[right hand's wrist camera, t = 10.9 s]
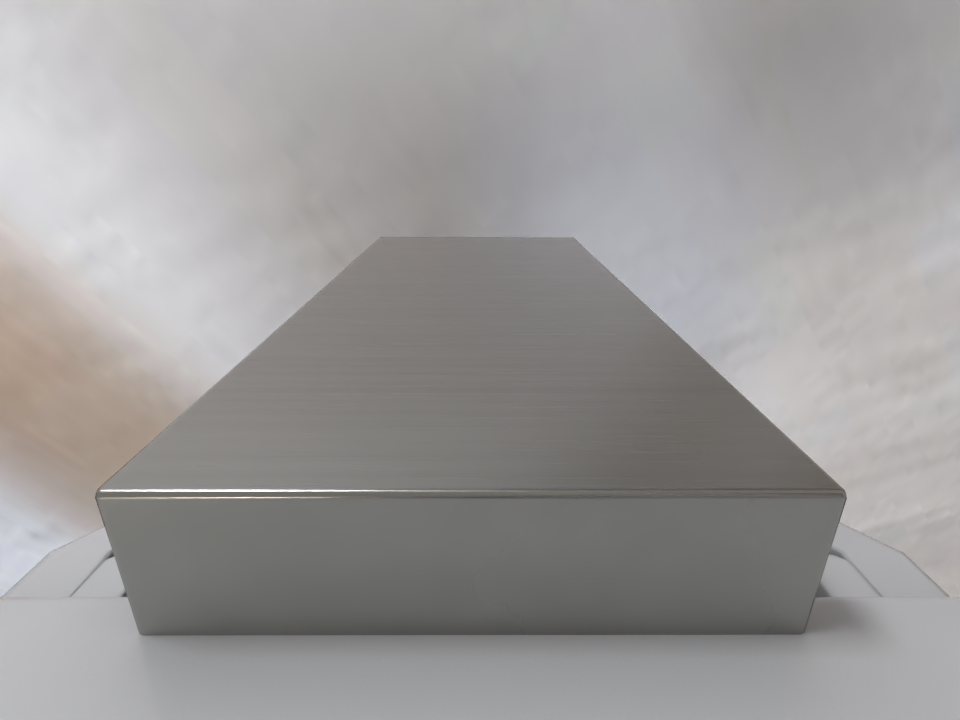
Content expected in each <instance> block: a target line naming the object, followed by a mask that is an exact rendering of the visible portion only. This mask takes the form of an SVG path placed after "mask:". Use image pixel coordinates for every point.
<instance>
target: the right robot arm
mask: <svg viewBox="0 0 960 720" xmlns="http://www.w3.org/2000/svg"><path fill="white" fill-rule="evenodd" d="M0 720H960V597H950V596H949V595H948V594H947V593H945V592H944V591H943V590H942V589H941V588H940V587H939V586H938V585H937V584H936V583H935V582H934V581H933V580H932V579H931V578H930V577H929V576H928V575H927V574H925V573H924V572H923V571H922V570H921V569H920V568H919V567H918V566H917V565H916V564H915V563H914V562H913V561H912V560H911V559H910V558H909V557H908V556H907V555H905V554H904V553H903V552H901V551H899V550H896V549H894V548H892V547H890V546H888V545H886V544H884V543H882V542H880V541H878V540H875V539H873V538H871V537H869V536H867V535H865V534H863V533H861V532H859V531H857V530H854V529H852V528H850V527H848V526H846V525H844V524H842V523H840V522H839V524H838V528H837V531H836V534H835V537H834V540H833V543H832V547H831V550H830V553H829V556H828V559H827V562H826V566H825V569H824V572H823V575H822V578H821V582H820V585H819V588H818V591H817V594H816V597H815V601H814V604H813V607H812V610H811V613H810V617H809V620H808V623H807V626H806V629H805V632H804V633H803V634H801V635H183V636H143V635H141V634H139V631H138V628H137V625H136V622H135V619H134V616H133V613H132V610H131V607H130V603H129V600H128V597H127V594H126V591H125V588H124V585H123V582H122V579H121V576H120V573H119V569H118V566H117V563H116V560H115V557H114V554H113V551H112V548H111V545H110V542H109V539H108V536H107V532H106V529H105V527H103V528H101V529H99V530H96V531H94V532H92V533H90V534H88V535H86V536H84V537H81V538H79V539H77V540H75V541H73V542H71V543H69V544H67V545H64V546H62V547H60V548H58V549H56V550H54V551H52V552H50V553H49V554H48V555H47V556H45V557H44V558H43V559H42V560H41V561H40V562H39V563H38V564H37V565H36V566H35V567H34V568H33V569H31V570H30V571H29V572H28V573H27V574H26V575H25V576H24V577H23V578H22V579H21V580H20V581H19V582H17V583H16V584H15V585H14V586H13V587H12V588H11V589H10V590H9V591H8V592H7V593H6V594H5V595H3V596H2V597H0Z"/></svg>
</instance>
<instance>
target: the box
mask: <svg viewBox="0 0 960 720" xmlns="http://www.w3.org/2000/svg"><path fill="white" fill-rule="evenodd" d="M95 499H96V502H97V505H98V508H99V511H100V514H101V517H102V520H103V523H104V526H105V529H106V532H107V536H108V539H109V542H110V545H111V548H112V551H113V554H114V557H115V560H116V563H117V566H118V569H119V573H120V576H121V579H122V582H123V585H124V588H125V591H126V594H127V597H128V600H129V603H130V607H131V610H132V613H133V616H134V619H135V622H136V625H137V628H138V631H139V634H141V635H143V636H183V635H801V634H803V633H804V632H805V629H806V626H807V623H808V620H809V617H810V613H811V610H812V607H813V604H814V601H815V597H816V594H817V591H818V588H819V585H820V582H821V578H822V575H823V572H824V569H825V566H826V562H827V559H828V556H829V553H830V550H831V547H832V543H833V540H834V537H835V534H836V531H837V528H838V524H839V521H840V518H841V515H842V512H843V508H844V505H845V502H846V499H847V498H846V493H845V490H844V489H843V488H842V487H841V486H840V485H839V484H837V483H836V482H835V481H834V480H833V479H832V478H831V477H830V476H829V475H828V474H827V473H826V472H825V471H824V470H822V469H821V468H820V467H819V466H818V465H817V464H816V463H815V462H814V461H813V460H812V459H811V458H810V457H809V456H807V455H806V454H805V453H804V452H803V451H802V450H801V449H800V448H799V447H798V446H797V445H796V444H795V443H793V442H792V441H791V440H790V439H789V438H788V437H787V436H786V435H785V434H784V433H783V432H782V431H781V430H780V429H778V428H777V427H776V426H775V425H774V424H773V423H772V422H771V421H770V420H769V419H768V418H767V417H766V416H764V415H763V414H762V413H761V412H760V411H759V410H758V409H757V408H756V407H755V406H754V405H753V404H752V403H751V402H749V401H748V400H747V399H746V398H745V397H744V396H743V395H742V394H741V393H740V392H739V391H738V390H737V389H736V388H734V387H733V386H732V385H731V384H730V383H729V382H728V381H727V380H726V379H725V378H724V377H723V376H722V375H720V374H719V373H718V372H717V371H716V370H715V369H714V368H713V367H712V366H711V365H710V364H709V363H708V362H707V361H705V360H704V359H703V358H702V357H701V356H700V355H699V354H698V353H697V352H696V351H695V350H694V349H693V348H691V347H690V346H689V345H688V344H687V343H686V342H685V341H684V340H683V339H682V338H681V337H680V336H679V335H678V334H676V333H675V332H674V331H673V330H672V329H671V328H670V327H669V326H668V325H667V324H666V323H665V322H664V321H663V320H661V319H660V318H659V317H658V316H657V315H656V314H655V313H654V312H653V311H652V310H651V309H650V308H649V307H647V306H646V305H645V304H644V303H643V302H642V301H641V300H640V299H639V298H638V297H637V296H636V295H635V294H634V293H632V292H631V291H630V290H629V289H628V288H627V287H626V286H625V285H624V284H623V283H622V282H621V281H620V280H618V279H617V278H616V277H615V276H614V275H613V274H612V273H611V272H610V271H609V270H608V269H607V268H606V267H605V266H603V265H602V264H601V263H600V262H599V261H598V260H597V259H596V258H595V257H594V256H593V255H592V254H591V253H590V252H588V251H587V250H586V249H585V248H584V247H583V246H582V245H581V244H580V243H579V242H578V241H577V240H576V239H574V238H522V237H381V238H379V239H378V240H377V241H376V242H375V243H374V244H372V245H371V246H370V247H369V248H368V249H367V250H366V251H365V252H363V253H362V254H361V255H360V256H359V257H358V258H357V259H356V260H354V261H353V262H352V263H351V264H350V265H349V266H348V267H347V268H345V269H344V270H343V271H342V272H341V273H340V274H339V275H338V276H336V277H335V278H334V279H333V280H332V281H331V282H330V283H329V284H328V285H326V286H325V287H324V288H323V289H322V290H321V291H320V292H319V293H317V294H316V295H315V296H314V297H313V298H312V299H311V300H310V301H308V302H307V303H306V304H305V305H304V306H303V307H302V308H301V309H299V310H298V311H297V312H296V313H295V314H294V315H293V316H292V317H290V318H289V319H288V320H287V321H286V322H285V323H284V324H283V325H281V326H280V327H279V328H278V329H277V330H276V331H275V332H274V333H272V334H271V335H270V336H269V337H268V338H267V339H266V340H265V341H264V342H262V343H261V344H260V345H259V346H258V347H257V348H256V349H255V350H253V351H252V352H251V353H250V354H249V355H248V356H247V357H246V358H244V359H243V360H242V361H241V362H240V363H239V364H238V365H237V366H235V367H234V368H233V369H232V370H231V371H230V372H229V373H228V374H226V375H225V376H224V377H223V378H222V379H221V380H220V381H219V382H217V383H216V384H215V385H214V386H213V387H212V388H211V389H210V390H208V391H207V392H206V393H205V394H204V395H203V396H202V397H201V398H200V399H198V400H197V401H196V402H195V403H194V404H193V405H192V406H191V407H189V408H188V409H187V410H186V411H185V412H184V413H183V414H182V415H180V416H179V417H178V418H177V419H176V420H175V421H174V422H173V423H171V424H170V425H169V426H168V427H167V428H166V429H165V430H164V431H162V432H161V433H160V434H159V435H158V436H157V437H156V438H155V439H153V440H152V441H151V442H150V443H149V444H148V445H147V446H146V447H144V448H143V449H142V450H141V451H140V452H139V453H138V454H137V455H136V456H134V457H133V458H132V459H131V460H130V461H129V462H128V463H127V464H125V465H124V466H123V467H122V468H121V469H120V470H119V471H118V472H116V473H115V474H114V475H113V476H112V477H111V478H110V479H109V480H107V481H106V482H105V483H104V484H103V485H102V486H101V487H100V488H98V490H97V492H96V496H95Z"/></svg>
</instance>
